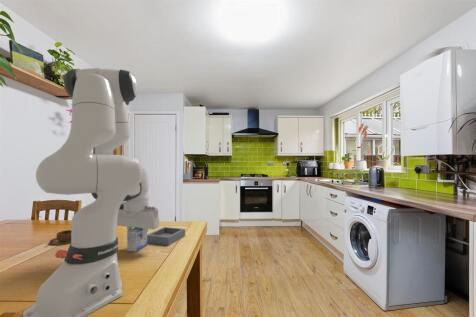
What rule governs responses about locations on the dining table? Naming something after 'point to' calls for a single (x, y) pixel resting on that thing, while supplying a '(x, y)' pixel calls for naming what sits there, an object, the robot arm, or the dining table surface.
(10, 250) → the dining table surface
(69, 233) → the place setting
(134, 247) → the medicine box
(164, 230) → the tray
